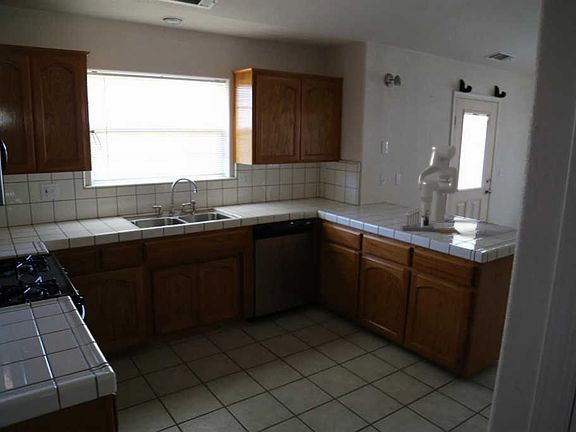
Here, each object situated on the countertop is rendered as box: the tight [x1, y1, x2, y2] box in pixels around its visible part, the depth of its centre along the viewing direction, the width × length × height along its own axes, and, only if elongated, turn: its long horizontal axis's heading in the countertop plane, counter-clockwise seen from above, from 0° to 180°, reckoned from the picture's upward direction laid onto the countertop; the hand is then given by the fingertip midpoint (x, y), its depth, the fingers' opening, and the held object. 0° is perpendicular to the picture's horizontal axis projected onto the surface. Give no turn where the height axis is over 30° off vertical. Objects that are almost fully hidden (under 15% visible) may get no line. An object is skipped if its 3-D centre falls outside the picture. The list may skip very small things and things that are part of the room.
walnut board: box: [435, 227, 461, 235], centre depth 309 cm, size 13×13×1 cm
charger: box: [420, 217, 430, 227], centre depth 309 cm, size 4×4×10 cm
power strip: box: [400, 224, 436, 232], centre depth 310 cm, size 7×22×4 cm, turn 86°
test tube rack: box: [403, 206, 421, 225], centre depth 324 cm, size 25×4×13 cm, turn 142°
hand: (424, 224), depth 309 cm, fingers open, 5 cm apart
